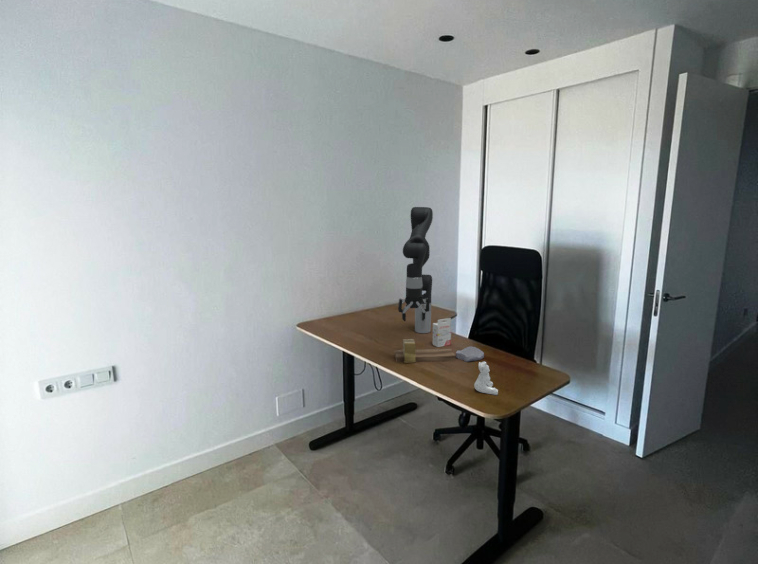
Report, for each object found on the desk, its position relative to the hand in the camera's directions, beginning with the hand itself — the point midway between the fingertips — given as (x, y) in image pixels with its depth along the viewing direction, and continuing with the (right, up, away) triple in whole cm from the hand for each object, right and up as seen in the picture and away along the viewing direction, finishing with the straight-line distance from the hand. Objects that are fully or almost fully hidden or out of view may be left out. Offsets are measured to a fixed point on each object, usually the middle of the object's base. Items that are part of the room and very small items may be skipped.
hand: (413, 320), depth 197 cm
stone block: (+28, -19, +7) cm, 35 cm away
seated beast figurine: (+26, -26, -28) cm, 46 cm away
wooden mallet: (-2, -18, +7) cm, 20 cm away
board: (+6, -19, +7) cm, 21 cm away
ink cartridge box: (+17, -15, +25) cm, 34 cm away
